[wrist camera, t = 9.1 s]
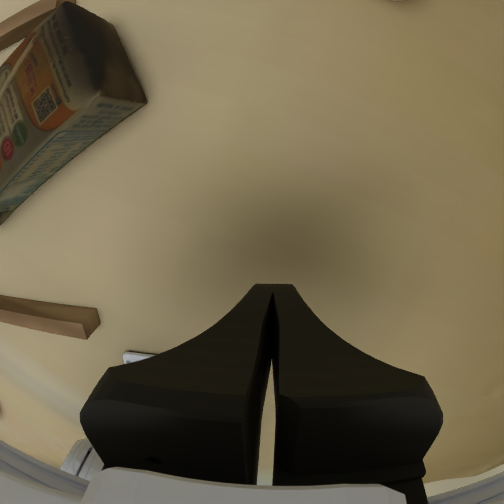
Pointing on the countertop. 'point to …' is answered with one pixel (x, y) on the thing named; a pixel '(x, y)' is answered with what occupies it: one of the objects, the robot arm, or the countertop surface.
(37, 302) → the display bay
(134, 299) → the countertop surface
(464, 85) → the countertop surface
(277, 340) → the robot arm
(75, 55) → the beverage carton
